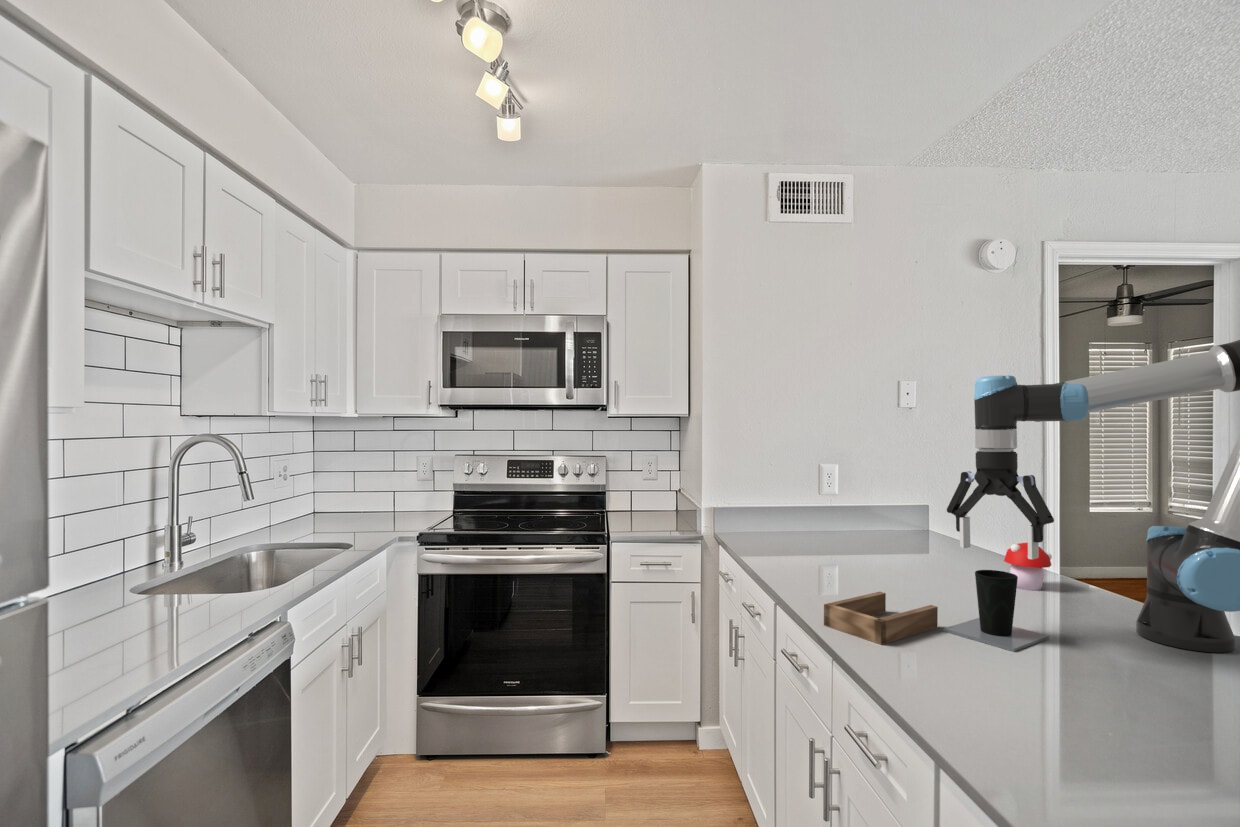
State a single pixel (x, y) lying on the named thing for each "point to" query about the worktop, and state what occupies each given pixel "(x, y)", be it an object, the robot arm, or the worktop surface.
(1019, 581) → the mushroom
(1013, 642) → the coaster
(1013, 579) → the cup
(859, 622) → the wooden frame
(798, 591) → the worktop surface
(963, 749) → the worktop surface
